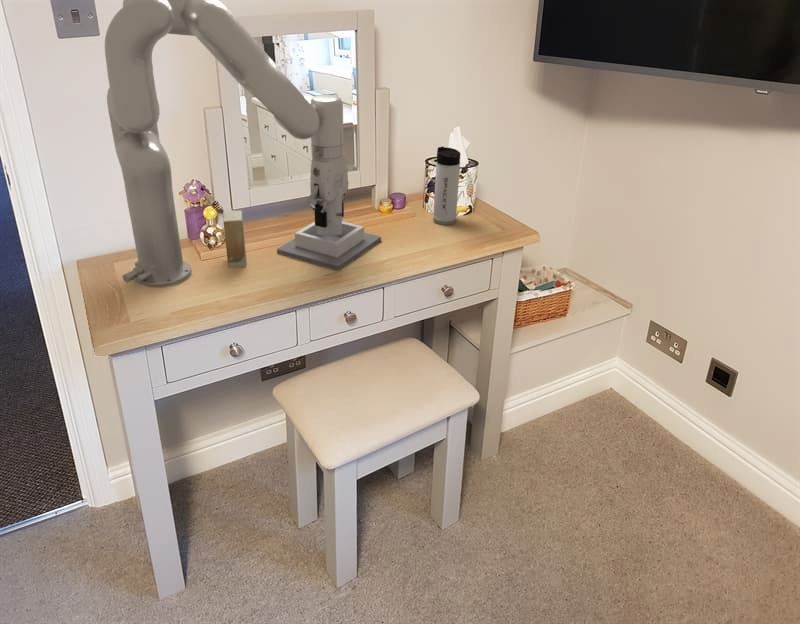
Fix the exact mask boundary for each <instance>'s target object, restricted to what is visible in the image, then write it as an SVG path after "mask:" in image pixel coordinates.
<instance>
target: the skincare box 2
mask: <svg viewBox="0 0 800 624" xmlns="http://www.w3.org/2000/svg"><path fill="white" fill-rule="evenodd" d="M337 190H338V197H337V198H336V199H334V200H332V201H330V202H327V204H326V208H325V212H327V227H326V228H323V227H320V226H318V235H342V221H343V217H342V202H343V201H342V187H340V188H339V189H337ZM318 198H320V199H322V198H321V196H319V195H318ZM319 205H320V206H322V201H319Z"/></svg>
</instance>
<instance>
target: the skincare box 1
mask: <svg viewBox="0 0 800 624" xmlns="http://www.w3.org/2000/svg"><path fill="white" fill-rule="evenodd" d="M222 221H223V231H224V239H225V250H226V258H227V259H226V261H227V268H228V269H237V268H246V267H247V263H248V262H247V252H246V251H247V250H246V243H245V242H246V241H245V240H246V239H245V229H244V223H243V222H244V221H243V210H224V211H223V212H222Z"/></svg>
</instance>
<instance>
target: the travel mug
mask: <svg viewBox="0 0 800 624" xmlns="http://www.w3.org/2000/svg"><path fill="white" fill-rule="evenodd" d="M435 161H436V162H435V163H436V164H435V179H434V181H435V182H434V198H433V216H432V220H433V222H434V223H436V224H438V225H441V226H442V225H443V226H448V225H449V226H450V225H453V224H455V223H456V221H457V210H458V209H457V208H458V198H459V197H458V196H459V194H458V193H459V181H460V167H461V166H460V165H461V152H460V151H459V150H458V149H456V148H452V147H445V146H439V147H437V150H436V160H435Z"/></svg>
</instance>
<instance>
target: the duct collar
mask: <svg viewBox="0 0 800 624" xmlns="http://www.w3.org/2000/svg"><path fill="white" fill-rule="evenodd" d="M381 241H382V236H380V235H376V234H373V233H368V232H365V226H362V225H358V224H354V223H350V222H347V221H343V220H342V235H318V226H316V225H315V221H313V222H312V223H310V224H308V225H305V226H304V227H302V228H300V229H299V230H298V231H295V232H294V239H291V240H290V241H288V242H287V243H284V244H283V245H281V246H279V247H278V248H276V253H277V255H280V256H285V257H288V258H292V259H294V260H299V261H302V262H306V263H308V264H309V263H310V264H314V265H317V266H320V267H323V268H326V269H327V268H328V269H330V268H331V270H334V269H335V270H334V271H337V270H339V271H341V270H342V269H344V268H345V267H346V266H348V265H349V264H351V263H352V262H353V261H355V260H356V259H358V258H359V257H361V256H362V255H363V254H365V253H366V252H368V251H369V250H370V249H372V248H373V247H375V246H376V245H377V244H379V243H380V242H381ZM340 269H341V270H340Z"/></svg>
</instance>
